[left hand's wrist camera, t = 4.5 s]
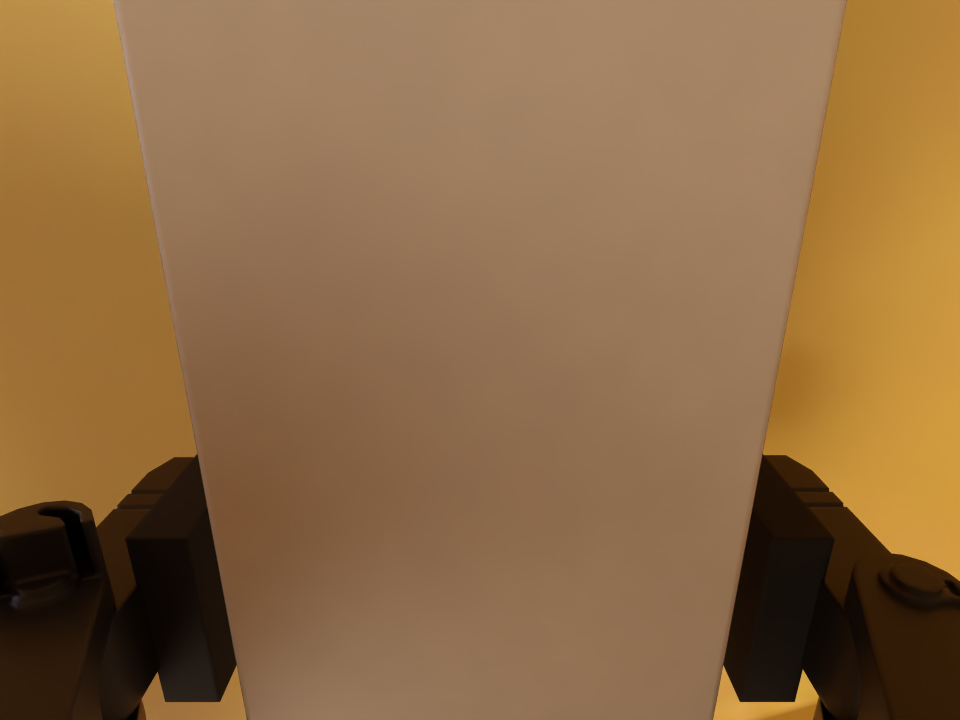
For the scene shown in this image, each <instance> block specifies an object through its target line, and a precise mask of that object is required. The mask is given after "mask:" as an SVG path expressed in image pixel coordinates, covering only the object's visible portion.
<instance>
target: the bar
mask: <svg viewBox="0 0 960 720" xmlns="http://www.w3.org/2000/svg"><path fill="white" fill-rule="evenodd" d="M113 2H114V7H115V13H116V18H117V23H118V29H119V34H120V40H121V45H122V50H123V56H124V61H125V66H126V72H127V77H128V83H129V88H130V93H131V99H132V104H133V109H134V115H135V120H136V126H137V131H138V136H139V142H140V147H141V152H142V158H143V163H144V169H145V174H146V179H147V185H148V190H149V195H150V201H151V206H152V212H153V217H154V222H155V228H156V233H157V238H158V244H159V249H160V255H161V260H162V265H163V271H164V276H165V281H166V287H167V292H168V298H169V303H170V308H171V314H172V319H173V324H174V330H175V335H176V341H177V346H178V351H179V357H180V362H181V367H182V373H183V378H184V384H185V389H186V394H187V400H188V405H189V410H190V416H191V421H192V427H193V432H194V437H195V443H196V448H197V453H198V459H199V464H200V470H201V475H202V480H203V486H204V491H205V496H206V502H207V507H208V513H209V518H210V523H211V529H212V534H213V539H214V545H215V550H216V556H217V561H218V566H219V572H220V577H221V582H222V588H223V593H224V599H225V604H226V609H227V615H228V620H229V625H230V631H231V636H232V642H233V647H234V652H235V658H236V663H237V668H238V674H239V679H240V685H241V690H242V695H243V701H244V706H245V711H246V717H247V720H713V717H714V711H715V706H716V701H717V695H718V690H719V684H720V679H721V674H722V668H723V663H724V658H725V652H726V647H727V641H728V636H729V631H730V625H731V620H732V615H733V609H734V604H735V598H736V593H737V588H738V582H739V577H740V572H741V566H742V561H743V555H744V550H745V545H746V539H747V534H748V529H749V523H750V518H751V512H752V507H753V502H754V496H755V491H756V486H757V480H758V475H759V469H760V464H761V459H762V453H763V448H764V443H765V437H766V432H767V426H768V421H769V416H770V410H771V405H772V400H773V394H774V389H775V383H776V378H777V373H778V367H779V362H780V357H781V351H782V346H783V340H784V335H785V330H786V324H787V319H788V314H789V308H790V303H791V297H792V292H793V287H794V281H795V276H796V271H797V265H798V260H799V254H800V249H801V244H802V238H803V233H804V228H805V222H806V217H807V211H808V206H809V201H810V195H811V190H812V185H813V179H814V174H815V168H816V163H817V158H818V152H819V147H820V142H821V136H822V131H823V125H824V120H825V115H826V109H827V104H828V99H829V93H830V88H831V82H832V77H833V72H834V66H835V61H836V55H837V50H838V45H839V39H840V34H841V29H842V23H843V18H844V12H845V7H846V2H847V0H113Z"/></svg>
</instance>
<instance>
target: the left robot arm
mask: <svg viewBox="0 0 960 720" xmlns="http://www.w3.org/2000/svg"><path fill="white" fill-rule="evenodd" d="M236 665H237V663H236V658H235V652H234V647H233V642H232V636H231V631H230V625H229V620H228V615H227V609H226V604H225V599H224V593H223V588H222V582H221V577H220V572H219V566H218V561H217V556H216V550H215V545H214V539H213V534H212V529H211V523H210V518H209V513H208V507H207V502H206V496H205V491H204V486H203V480H202V475H201V470H200V464H199V459H198V454H197V455H196V456H195V457H174V458H173V459H171V460H169V461H167V462H166V463H164V464H162V465H161V466H159V467H157V468H156V469H154V470H152V471H150V472H149V473H148V474H147V475H146V476H145V477H144V478H143V479H142V480H141V481H140V482H139V483H138V484H137V485H136V486H135V487H134V488H133V490H132V493H131V494H128V495H127V496H126V497H125V498H124V499H123V500H122V501H121V502H120V503H119V504H118V505H117V509H114V510H113V511H112V512H111V513H110V514H109V515H108V516H107V517H106V518H105V519H104V520H103V521H102V522H101V523H100V524H99V525H98V526H97V528H96V525H95V522H94V518H93V514H92V510H91V509H89V508H88V507H87V506H85V505H84V504H82V503H78V502H71V501H55V502H44V503H39V504H35V505H32V506H28V507H24V508H20V509H17V510H15V511H12V512H10V513H7V514H5V515H3V516H0V720H146V716H145V710H144V706H143V702H142V697H143V695H144V694H145V692H146V690H147V689H148V687H149V685H150V683H151V682H152V680H153V678H154V677H155V675H156V673H157V672H158V674H159V678H160V682H161V686H162V690H163V694H164V698H165V702H220V701H221V698H222V696H223V694H224V692H225V690H226V687H227V685H228V683H229V681H230V678H231V676H232V674H233V672H234V669H235V667H236ZM723 665H724V667H725V670H726V672H727V674H728V676H729V678H730V681H731V683H732V685H733V687H734V690H735V692H736V694H737V696H738V698H739V701H740V702H795V698H796V694H797V690H798V686H799V682H800V678H801V674H802V670H804V672H805V673H806V675H807V677H808V678H809V680H810V682H811V684H812V685H813V687H814V689H815V690H816V692H817V694H818V695H819V698H818V702H817V706H816V710H815V714H814V717H813V720H960V581H959V580H957V579H956V578H954V577H953V576H952V575H950V574H949V573H948V572H946V571H943V570H941V569H939V568H937V567H935V566H933V565H931V564H929V563H927V562H925V561H921V560H918V559H915V558H911V557H908V556H904V555H900V554H891V553H890V552H889V551H888V550H887V549H886V548H885V547H884V545H883V544H882V543H881V542H880V541H879V540H878V539H877V538H876V537H875V536H874V535H873V534H872V533H871V532H870V531H869V530H868V529H867V528H866V527H865V526H864V525H863V523H862V522H861V521H860V520H859V519H858V518H857V517H856V516H855V515H854V514H853V513H852V512H851V511H850V510H849V509H848V508H847V507H843V503H842V501H841V500H840V499H839V498H838V497H837V496H836V495H835V494H834V493H833V492H829V488H828V487H827V486H826V485H825V484H824V483H823V482H822V481H821V479H820V478H819V477H818V476H817V475H816V474H815V473H814V472H813V471H812V470H810V469H808V468H807V467H805V466H803V465H802V464H800V463H798V462H796V461H795V460H793V459H791V458H790V457H788V456H786V455H763V454H762V459H761V464H760V469H759V475H758V480H757V486H756V491H755V496H754V502H753V507H752V512H751V518H750V523H749V529H748V534H747V539H746V545H745V550H744V555H743V561H742V566H741V572H740V577H739V582H738V588H737V593H736V598H735V604H734V609H733V615H732V620H731V625H730V631H729V636H728V641H727V647H726V652H725V658H724V663H723Z"/></svg>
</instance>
